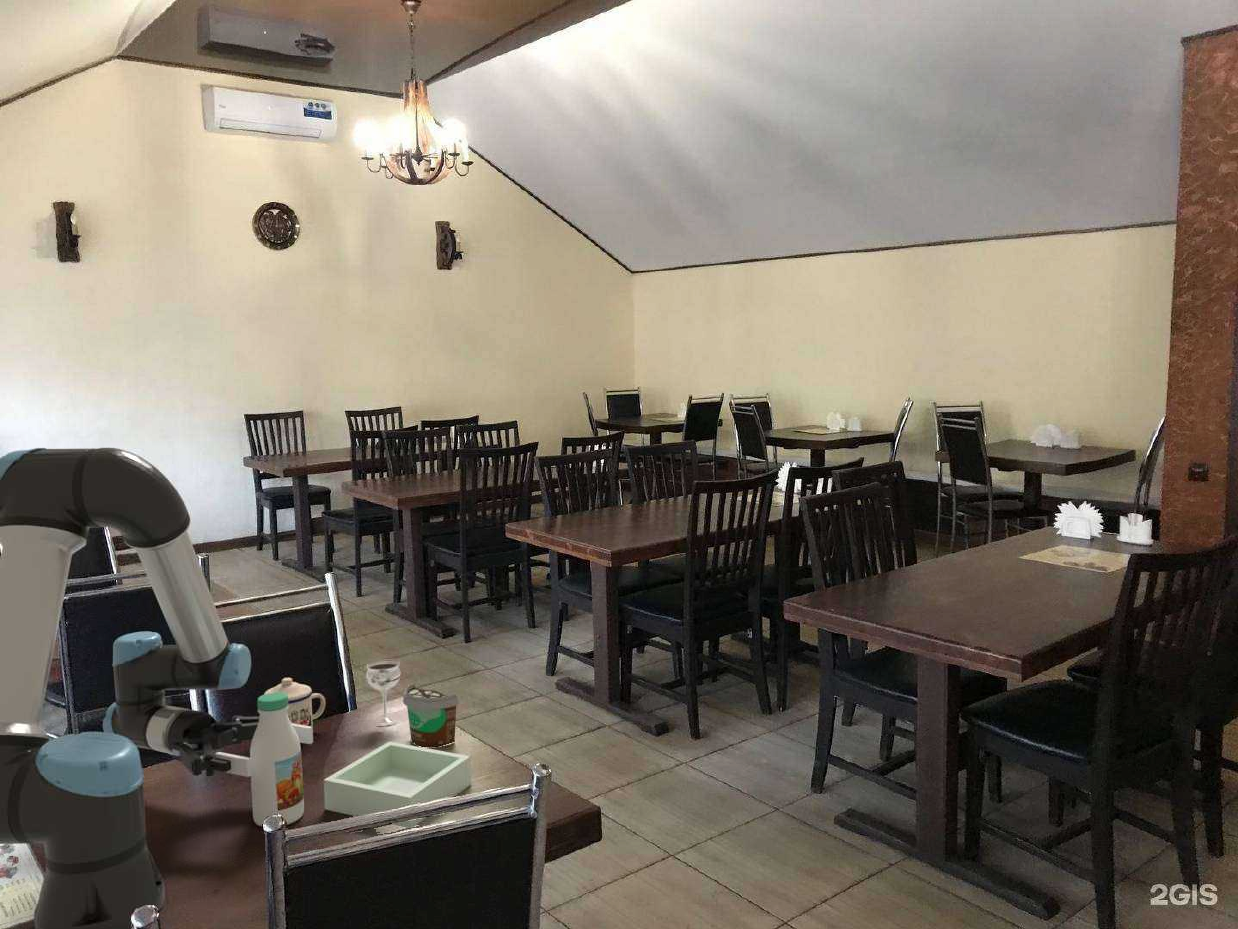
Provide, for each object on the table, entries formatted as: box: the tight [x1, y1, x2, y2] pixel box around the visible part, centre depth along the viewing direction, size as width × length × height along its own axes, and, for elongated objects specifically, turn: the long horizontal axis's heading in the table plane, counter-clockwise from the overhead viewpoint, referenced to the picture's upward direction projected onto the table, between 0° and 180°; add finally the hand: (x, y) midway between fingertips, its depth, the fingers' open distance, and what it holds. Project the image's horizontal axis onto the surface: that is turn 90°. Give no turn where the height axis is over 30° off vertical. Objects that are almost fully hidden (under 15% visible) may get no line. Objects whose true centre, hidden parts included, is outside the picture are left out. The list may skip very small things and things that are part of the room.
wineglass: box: [365, 658, 402, 723], centre depth 192 cm, size 7×7×12 cm
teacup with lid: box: [263, 677, 326, 730], centre depth 186 cm, size 12×9×12 cm
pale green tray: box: [323, 741, 472, 829], centre depth 159 cm, size 17×17×5 cm
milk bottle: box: [249, 692, 305, 827], centre depth 152 cm, size 8×8×20 cm
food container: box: [402, 682, 460, 749], centre depth 181 cm, size 12×6×10 cm, turn 55°
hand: (281, 751), depth 152 cm, fingers open, 13 cm apart
